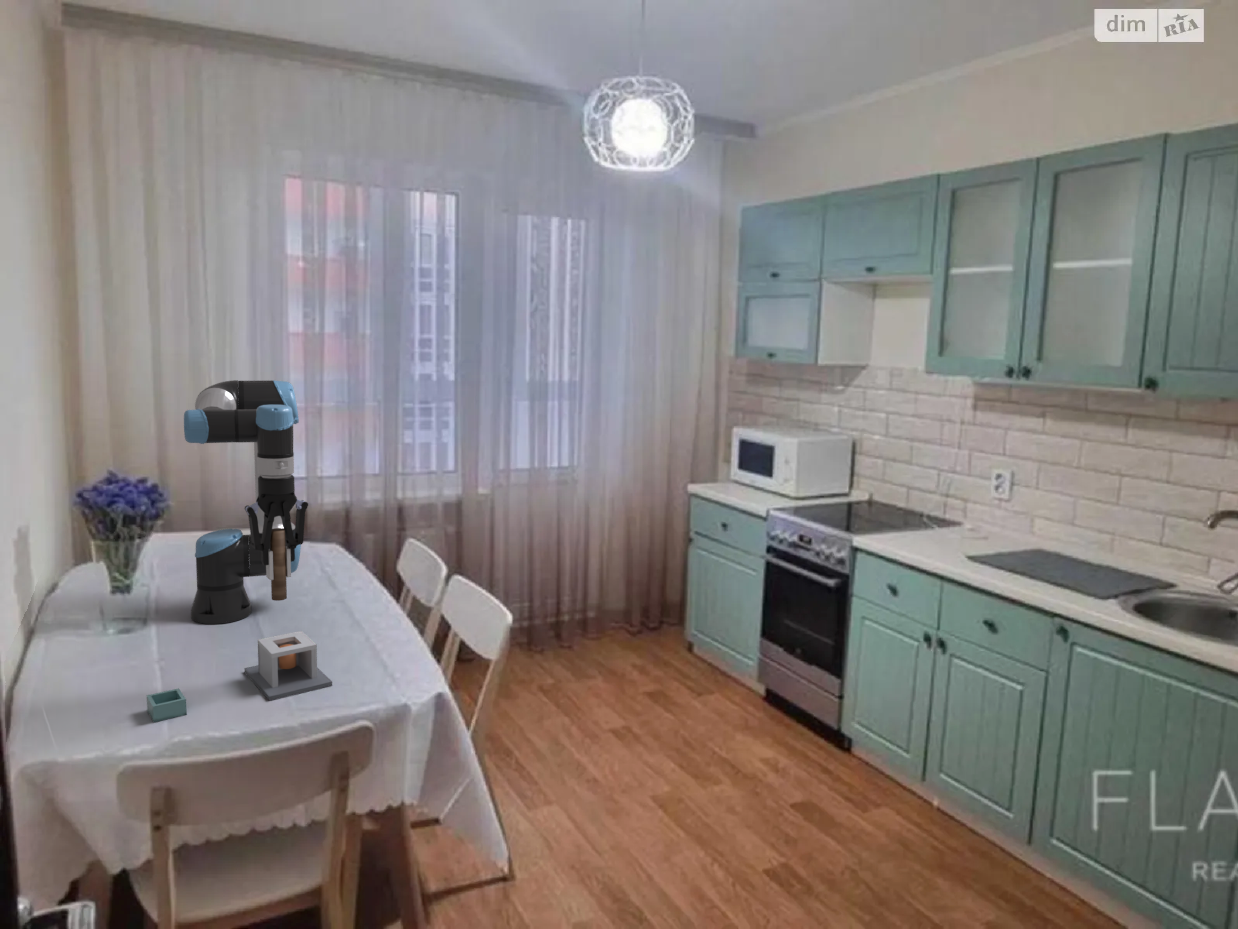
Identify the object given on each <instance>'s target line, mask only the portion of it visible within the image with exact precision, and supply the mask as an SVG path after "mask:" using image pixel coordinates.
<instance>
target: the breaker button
mask: <svg viewBox="0 0 1238 929" xmlns="http://www.w3.org/2000/svg"><path fill="white" fill-rule="evenodd" d="M291 645H293V644H286V645H282V646H280V647H279V648H282V647H287V646H291ZM295 666H296V653H294V654H290V655H285V656H280V657H279V668H281V669H291V668H294V667H295Z"/></svg>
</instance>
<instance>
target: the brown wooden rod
mask: <svg viewBox="0 0 1238 929" xmlns="http://www.w3.org/2000/svg"><path fill="white" fill-rule="evenodd" d="M270 550H271V551H273V578H274V580H270V582H271V584H270V587H271V600H272V601H274V602H275V601H276V602H277V601H284V600H287V599H288V597H287V596H288V593H287V586H288V585H287V577H286V542H285V529H283V528H274V529H272V533H271V540H270Z"/></svg>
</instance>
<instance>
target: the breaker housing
mask: <svg viewBox="0 0 1238 929" xmlns="http://www.w3.org/2000/svg"><path fill="white" fill-rule="evenodd" d="M286 644H293V645H291V646H287V647H282V648H279V647H280V646H282V645H286ZM317 650H318V648H317V643H315V642H314V641H313V640H312V639H311V638H310V637H309V636H308V635H307V634H305V633H304V632H303V631H302V630H299V631H294V632H289V633H284V634H278V635H275V636H269V637H268V636H267V637H265V638H257V658H258V659H257V660H258V662H257V663H258V664H256V665H253V666H248V667H244V673H245V674H246V676H247V677H248V678H249V680H251V681H252V683H253V684H254V685H255V686H256V688H257V689H259V691H260V692H261V693H262V694H263V695H264V697H265V698H266V699H267V700H268V701H270V702H271V701H275V700H278V699H283V698H287V697H291V696H295V695H299V694H305V693H307V692H311V691H312V692H313V691H315V690H320V689H324V688H327V687H329V688H330V687H332V686H333V680H331V678H329V677H328V676H327V675H326V674H325V673H324V672H323V671H322V670H321V669H320V668H318V656H317V655H318V653H317ZM294 653H296V666H295V667H294V668H291V669H281V668H279V657H280V656H285V655H290V654H294Z"/></svg>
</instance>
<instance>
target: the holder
mask: <svg viewBox="0 0 1238 929" xmlns="http://www.w3.org/2000/svg"><path fill="white" fill-rule="evenodd" d="M146 711H147V713H148V714H149V717H150V718H151V720H152V722H153V723H158V722H161V721H165V720H170V719H176V718H178V717H183V716H187V715H188V714H187V698H186V697H185V695H184V694H183V692H182V690H181V689H180V688H179V687H178V688H174V689H169V690H165V691H161V692H156V693H150V694H146Z"/></svg>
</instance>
